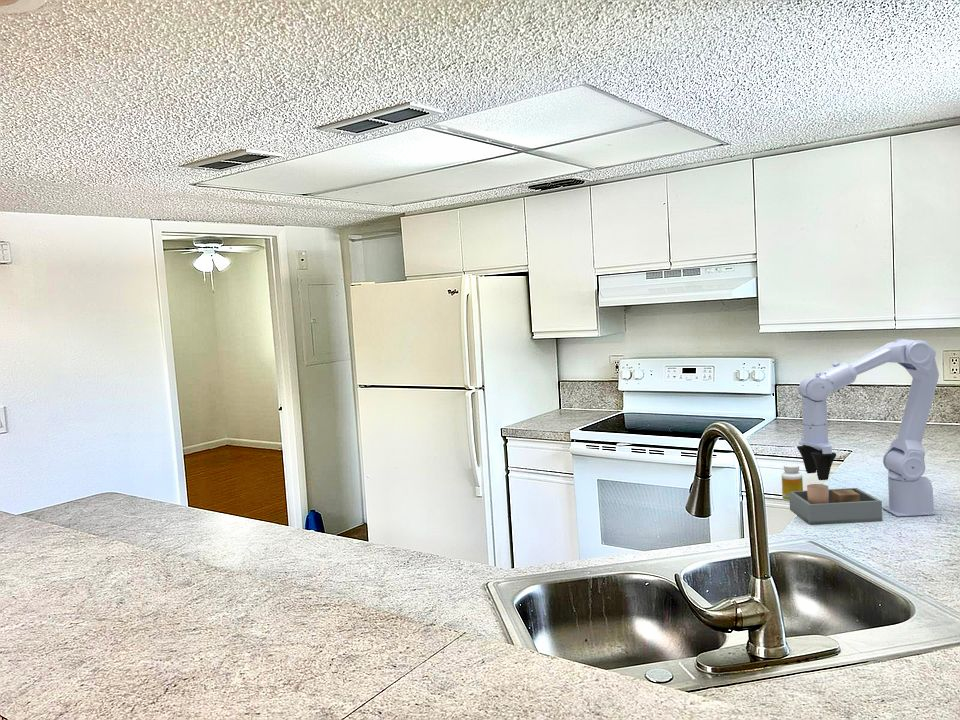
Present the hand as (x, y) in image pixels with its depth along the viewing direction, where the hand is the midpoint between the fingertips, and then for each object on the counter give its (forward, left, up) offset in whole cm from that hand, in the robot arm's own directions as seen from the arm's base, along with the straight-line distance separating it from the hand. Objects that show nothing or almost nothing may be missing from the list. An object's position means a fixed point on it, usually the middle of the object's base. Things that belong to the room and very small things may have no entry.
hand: (817, 476), depth 193 cm
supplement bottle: (0, -16, -11) cm, 20 cm away
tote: (-4, 0, -10) cm, 11 cm away
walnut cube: (-7, 0, -10) cm, 12 cm away
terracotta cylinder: (0, 0, -10) cm, 10 cm away
